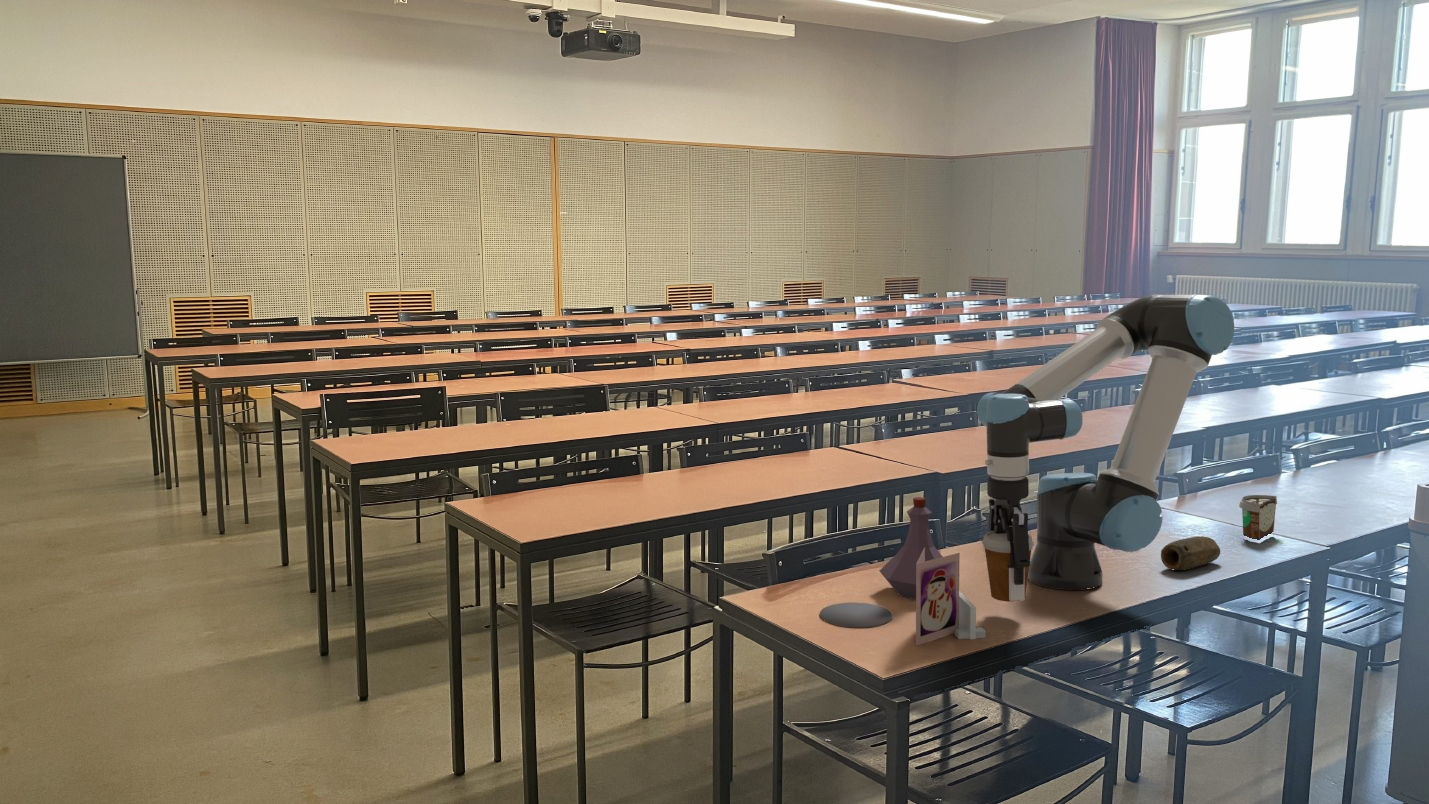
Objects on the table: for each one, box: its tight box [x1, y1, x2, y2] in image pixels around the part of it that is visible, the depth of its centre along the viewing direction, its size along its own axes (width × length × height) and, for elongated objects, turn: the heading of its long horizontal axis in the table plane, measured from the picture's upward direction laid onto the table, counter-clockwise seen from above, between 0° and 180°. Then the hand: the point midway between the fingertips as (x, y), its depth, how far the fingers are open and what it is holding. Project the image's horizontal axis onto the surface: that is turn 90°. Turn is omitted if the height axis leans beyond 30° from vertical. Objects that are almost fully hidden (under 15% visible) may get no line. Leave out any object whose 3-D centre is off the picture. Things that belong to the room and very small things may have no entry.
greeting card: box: [915, 548, 961, 646], centre depth 182 cm, size 11×7×15 cm, turn 126°
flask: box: [879, 496, 944, 601], centre depth 206 cm, size 16×16×20 cm
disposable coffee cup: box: [981, 531, 1035, 603], centre depth 190 cm, size 10×10×12 cm
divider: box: [954, 590, 987, 640], centre depth 188 cm, size 5×17×6 cm, turn 5°
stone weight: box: [1160, 535, 1221, 571], centre depth 221 cm, size 15×7×7 cm, turn 128°
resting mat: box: [819, 601, 893, 629], centre depth 194 cm, size 14×14×1 cm
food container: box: [1238, 494, 1278, 540], centre depth 243 cm, size 12×6×10 cm, turn 133°
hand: (1008, 592), depth 191 cm, fingers closed on disposable coffee cup, 8 cm apart
